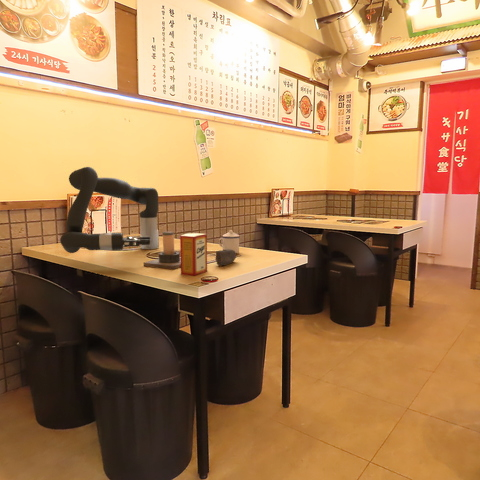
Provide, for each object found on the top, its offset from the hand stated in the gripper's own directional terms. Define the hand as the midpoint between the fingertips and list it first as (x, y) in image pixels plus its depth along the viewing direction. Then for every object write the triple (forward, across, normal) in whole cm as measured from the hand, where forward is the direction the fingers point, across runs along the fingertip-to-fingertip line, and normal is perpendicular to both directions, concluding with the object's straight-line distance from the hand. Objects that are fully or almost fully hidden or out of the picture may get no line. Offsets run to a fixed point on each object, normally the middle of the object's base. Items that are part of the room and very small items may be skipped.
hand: (150, 240), depth 174 cm
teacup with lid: (+40, +25, +11) cm, 48 cm away
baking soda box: (+18, -18, +11) cm, 27 cm away
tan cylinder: (+8, 0, +10) cm, 12 cm away
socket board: (+8, +1, +11) cm, 14 cm away
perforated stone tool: (+33, -4, +11) cm, 35 cm away
